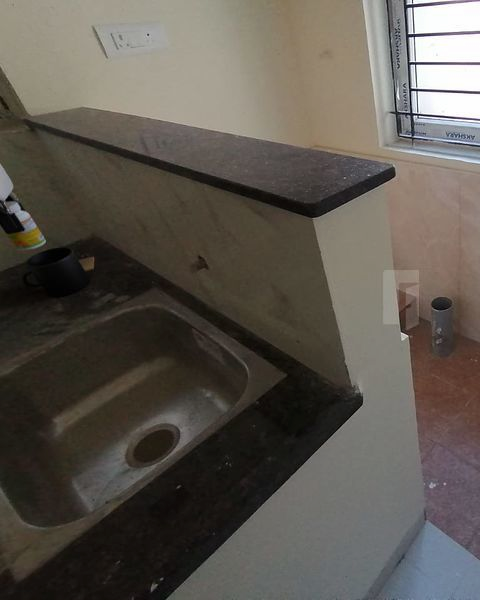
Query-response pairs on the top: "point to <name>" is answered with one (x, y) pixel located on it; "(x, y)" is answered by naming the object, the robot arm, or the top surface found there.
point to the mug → (57, 272)
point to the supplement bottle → (30, 235)
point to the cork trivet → (87, 263)
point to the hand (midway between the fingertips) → (18, 225)
